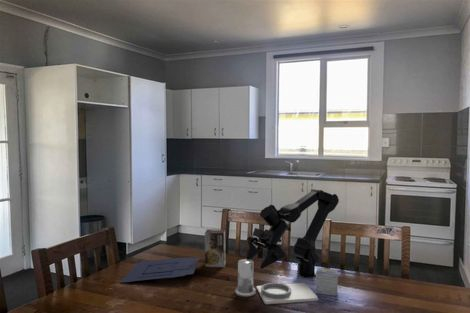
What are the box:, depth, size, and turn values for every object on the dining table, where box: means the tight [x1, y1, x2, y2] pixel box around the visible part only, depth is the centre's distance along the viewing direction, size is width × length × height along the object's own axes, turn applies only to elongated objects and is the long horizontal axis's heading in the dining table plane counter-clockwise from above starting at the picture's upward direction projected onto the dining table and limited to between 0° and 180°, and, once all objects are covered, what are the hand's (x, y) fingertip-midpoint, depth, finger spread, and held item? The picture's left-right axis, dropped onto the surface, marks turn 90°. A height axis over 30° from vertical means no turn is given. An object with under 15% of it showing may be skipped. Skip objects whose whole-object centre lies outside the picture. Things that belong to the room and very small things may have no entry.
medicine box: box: [315, 267, 339, 297], centre depth 140 cm, size 8×4×9 cm, turn 71°
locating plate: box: [255, 282, 319, 305], centre depth 139 cm, size 20×14×2 cm
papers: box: [119, 257, 201, 284], centre depth 159 cm, size 24×30×4 cm
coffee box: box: [204, 228, 227, 268], centre depth 170 cm, size 9×6×16 cm
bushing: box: [234, 258, 257, 298], centre depth 140 cm, size 8×8×12 cm
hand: (253, 264), depth 142 cm, fingers open, 9 cm apart
